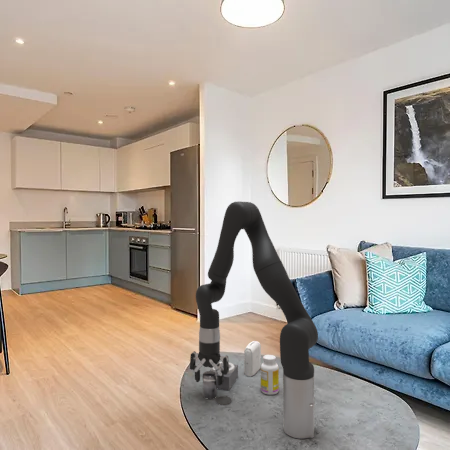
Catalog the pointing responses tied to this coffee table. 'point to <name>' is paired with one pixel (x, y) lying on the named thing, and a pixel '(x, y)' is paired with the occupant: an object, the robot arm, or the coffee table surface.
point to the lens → (209, 384)
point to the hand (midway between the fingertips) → (209, 382)
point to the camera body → (228, 376)
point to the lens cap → (223, 400)
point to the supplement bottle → (269, 375)
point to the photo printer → (252, 358)
